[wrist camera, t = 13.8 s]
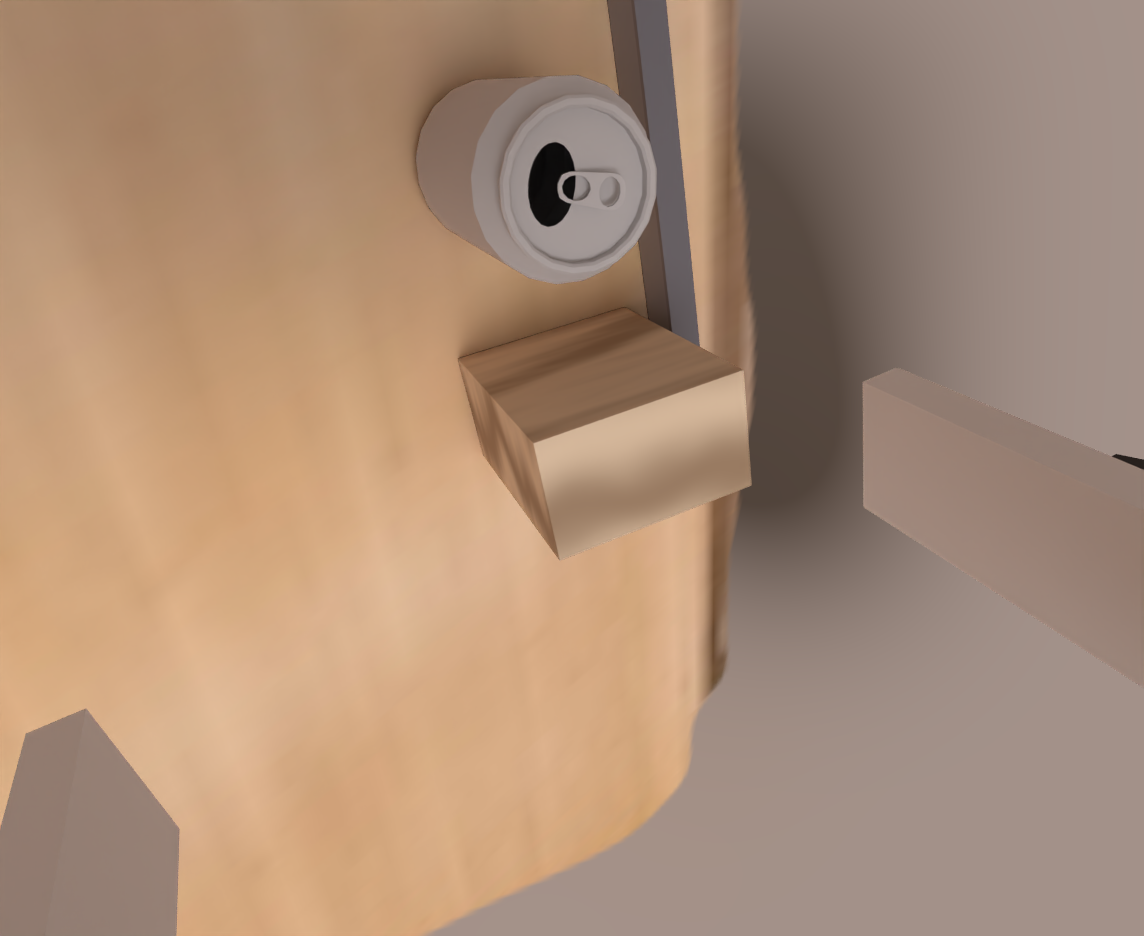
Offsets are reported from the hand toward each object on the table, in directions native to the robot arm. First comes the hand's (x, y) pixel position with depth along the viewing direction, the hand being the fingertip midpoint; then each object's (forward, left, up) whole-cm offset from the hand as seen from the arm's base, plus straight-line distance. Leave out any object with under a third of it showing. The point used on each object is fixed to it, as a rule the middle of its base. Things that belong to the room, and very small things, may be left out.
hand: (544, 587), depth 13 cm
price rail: (0, +17, -29) cm, 34 cm away
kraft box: (+10, +10, -29) cm, 32 cm away
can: (-3, +9, -30) cm, 31 cm away
